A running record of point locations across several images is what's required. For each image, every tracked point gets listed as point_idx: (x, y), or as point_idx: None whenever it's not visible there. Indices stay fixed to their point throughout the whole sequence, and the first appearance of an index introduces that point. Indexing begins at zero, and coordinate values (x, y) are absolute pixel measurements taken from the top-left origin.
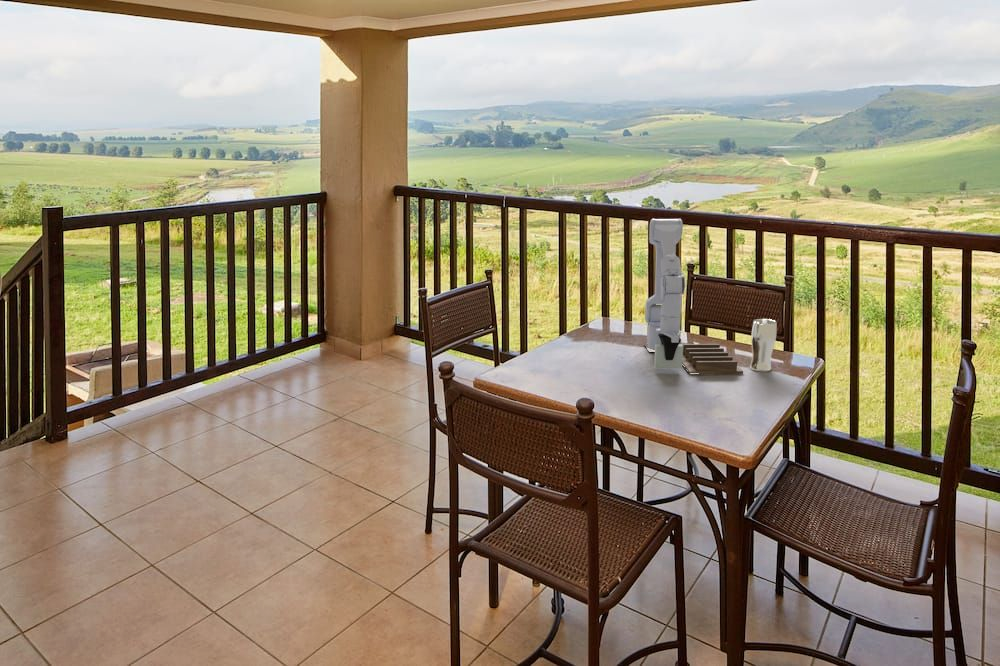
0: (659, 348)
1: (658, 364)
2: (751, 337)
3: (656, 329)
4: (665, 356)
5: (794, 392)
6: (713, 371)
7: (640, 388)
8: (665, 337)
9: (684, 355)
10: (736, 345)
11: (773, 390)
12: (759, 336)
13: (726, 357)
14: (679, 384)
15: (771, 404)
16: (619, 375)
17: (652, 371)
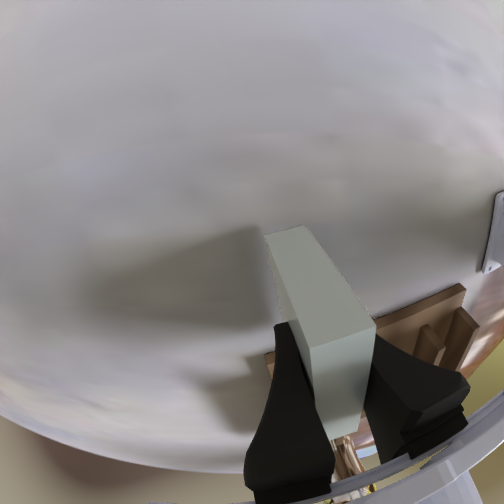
0: (304, 351)
1: (273, 264)
2: (357, 494)
3: (429, 495)
4: (277, 340)
5: (196, 471)
6: None
7: (12, 180)
8: (326, 471)
9: (441, 318)
10: (465, 376)
11: (193, 460)
12: None
13: (336, 439)
14: (130, 331)
15: (112, 451)
16: (170, 22)
17: (286, 206)
